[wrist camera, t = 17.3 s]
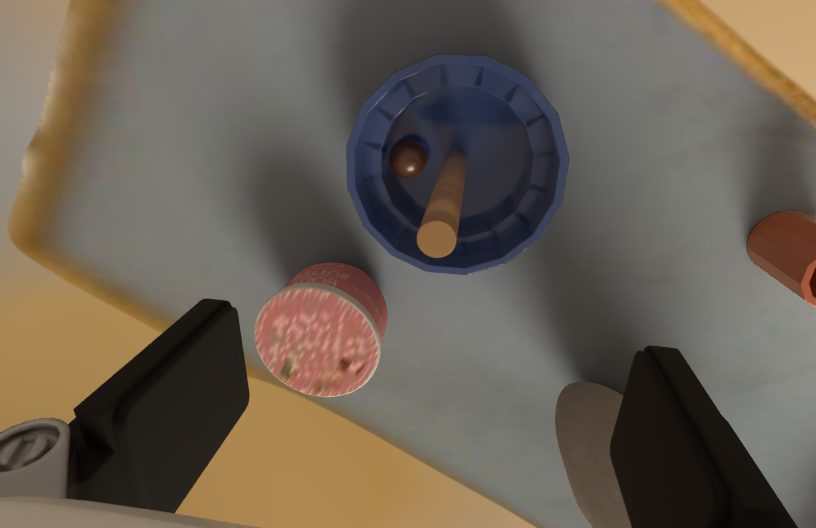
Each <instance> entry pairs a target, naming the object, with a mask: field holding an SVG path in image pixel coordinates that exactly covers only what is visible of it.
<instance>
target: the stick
mask: <svg viewBox="0 0 816 528" xmlns="http://www.w3.org/2000/svg"><path fill="white" fill-rule="evenodd" d="M466 166H467V158H466V156H465V155H464V153H462V152H461V151H457V150H455V151H451V152H449V153H448V154H447V155H446V157H445V160H444V162H443V165H442V168H441V171H440V173H439V176H438V179H437V181H436V184H435V187H434V190H433V192H432V195H431V198H430V200H429V203H428V206H427V208H426V211H425V214H424V217H423V219H422V222H421V225H420V227H419V230H418V233H417V244H418V246H419V248H420V250H421V251H422V252H423V253H424V254H426V255H428V256H430V257H434V258H440V257H444V256H446V255H448V254H450V253H451V252H452V251H453V249H454V248H455V245H456V241H457V234H458V226H459V219H460V211H461V203H462V196H463V188H464V181H465V173H466Z"/></svg>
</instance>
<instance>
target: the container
mask: <svg viewBox="0 0 816 528" xmlns="http://www.w3.org/2000/svg"><path fill="white" fill-rule="evenodd" d="M386 324H387V307H386V303H385V300H384V297H383V295H382V293H381V291H380V289H379V287H378V286H377V284H376V283H375V281H374V280H373V279H372V278H371V277H370V276H369V275H368V274H366V273H365V272H363V271H362V270H361V269H359V268H357V267H354V266H352V265H349V264H345V263H340V262H327V263H319V264H315V265H312V266H309V267H307V268H305V269H304V270H302V271H300V272H299V273H298V274H297V275H296V276H295V277H294V278H293V279H292V280H291V281H290V282H289V283H288V284H287V285H286V286H285V287H284V288H283V289H281V290H279V291H278V292H276V293H274V294H273V295H272V296H271V297H270V298H269V299H268V300H267V301H266V302H265V303H264V305H263V306H262V308H261V309H260V311H259V313H258V315H257V318H256V321H255V328H254V337H255V344H256V347H257V350H258V353H259V355H260V357H261V359H262V360H263V362H264V364H265V365H266V366H267V368H268V369H269V370H270V371H271V372H272V374H274V375H275V376H276V377H277V378H278V379H279V380H280V381H282V382H283V383H285V384H286V385H288V386H290V387H291V388H293V389H295V390H298V391H300V392H302V393H306V394H309V395H313V396H321V397H336V396H341V395H345V394H349V393H351V392H353V391H355V390H357V389H359V388H360V387H361V386H363V385H364V384H366V383H367V381H368V380H369V379H370V378H371V377H372V375H373V374H374V372H375V370H376V368H377V365H378V363H379V359H380V354H381V343H382V339H383V336H384V332H385V328H386Z"/></svg>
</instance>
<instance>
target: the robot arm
mask: <svg viewBox="0 0 816 528" xmlns="http://www.w3.org/2000/svg"><path fill="white" fill-rule="evenodd" d="M248 402H249V387H248V381H247V373H246V366H245V360H244V353H243V346H242V339H241V332H240V325H239V318H238V312H237V310H236V308H234V307H232V306H231V304H230V302H228V301H225V300H215V299H203V300H201V301H200V302H199V303H197V304H196V305H195V306H194V307H193V308H192V309H190V310H189V311H188V312H187V313H186V314H185V315H183V316H182V317H181V318H180V319H179V320H177V321H176V322H175V323H174V324H173V325H172V326H170V327H169V328H168V329H167V330H166V331H165V332H163V333H162V334H161V335H160V336H159V337H158V338H156V339H155V340H154V341H153V342H152V343H151V344H149V345H148V346H147V347H146V348H145V349H144V350H142V351H141V352H140V353H139V354H138V355H136V356H135V357H134V358H133V359H132V360H131V361H129V362H128V363H127V364H126V365H125V366H124V367H122V368H121V369H120V370H119V371H118V372H117V373H115V374H114V375H113V376H112V377H111V378H110V379H108V380H107V381H106V382H105V383H104V384H102V385H101V386H100V387H99V388H98V389H97V390H96V391H94V392H93V393H92V394H91V395H90V396H88V397H87V398H86V399H85V400H84V401H82V402H81V403H80V404H79V405H78V406H77V407H75V408H74V412H75V415H76V418H75V419H74V420H73V421H71V422H70V423H69V424H67V423H66V422H64V421H63V420H60V419H56V418H39V419H35V420H30V421H26V422H23V423H20V424H17V425H15V426H12V427H10V428H8V429H6V430H4V431H2V432H0V528H258V527H252V526H245V525H240V524H233V523H228V522H222V521H216V520H210V519H204V518H198V517H192V516H186V515H180V514H174V513H175V512H176V510H177V509H178V507H179V506H180V505H181V503H182V502H183V500H184V499H185V497H186V496H187V494H188V493H189V491H190V490H191V488H192V487H193V485H194V484H195V483H196V481H197V479H198V478H199V477H200V475H201V474H202V472H203V471H204V469H205V468H206V467H207V465H208V464H209V462H210V461H211V459H212V458H213V456H214V455H215V453H216V452H217V450H218V449H219V448H220V446H221V445H222V443H223V442H224V440H225V439H226V437H227V436H228V434H229V433H230V431H231V430H232V429H233V427H234V425H235V424H236V423H237V421H238V420H239V418H240V417H241V415H242V414H243V412H244V411H245V409H246V407H247V405H248ZM610 458H611V462H612V465H613V468H614V471H615V475H616V478H617V481H618V484H619V488H620V491H621V494H622V497H623V501H624V504H625V507H626V510H627V514H628V517H629V520H630V523H631V526H632V528H798V527H797V526H796V524H795V523H794V521H793V519H792V518H791V516H790V515H789V513H788V512H787V510H786V509H785V507H784V506H783V504H782V503H781V501H780V500H779V498H778V497H777V495H776V494H775V492H774V491H773V489H772V488H771V486H770V485H769V483H768V482H767V480H766V479H765V477H764V476H763V474H762V473H761V471H760V470H759V468H758V467H757V465H756V464H755V462H754V460H753V459H752V457H751V456H750V454H749V453H748V451H747V450H746V448H745V447H744V445H743V444H742V442H741V441H740V439H739V438H738V436H737V435H736V433H735V432H734V430H733V429H732V427H731V426H730V424H729V423H728V422H727V420H726V419H725V418H724V417H722V415H721V414H720V412H719V411H718V409H717V408H716V406H715V404H714V403H713V401H712V400H711V398H710V397H709V395H708V394H707V392H706V391H705V389H704V388H703V386H702V385H701V383H700V382H699V380H698V379H697V377H696V375H695V374H694V372H693V371H692V369H691V368H690V366H689V365H688V363H687V362H686V360H685V359H684V357H683V356H682V354H681V353H680V351H679V350H678V349H676V348H668V347H659V346H647V347H646V348H645V349H644V351H638V352H636V354H635V356H634V360H633V363H632V367H631V370H630V374H629V377H628V381H627V385H626V388H625V392H624V395H623V399H622V402H621V406H620V409H619V413H618V417H617V420H616V424H615V427H614V431H613V434H612V438H611V442H610Z"/></svg>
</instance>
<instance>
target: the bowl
mask: <svg viewBox="0 0 816 528" xmlns="http://www.w3.org/2000/svg"><path fill="white" fill-rule="evenodd" d="M403 139H413V140H416V141H418V142H419V143H421V144H422V145H423V147H424V148H425V150H426V153H427V164H426V167H425V169H424V170H423V171H422V173H420V174H419V175H418V176H416V177H413V178H403V177H400V176H399V175H397V174H396V173H395V172H394V171H393V170H392V168H391V166H390V164H389V153H390V150H391V148H392V147H393V146H394V144H396V143H397V142H398V141H400V140H403ZM346 148H347V188H348V191H349V193H350V196H351V198H352V201H353V203H354V205H355V208H356V210H357V212H358V215H359V217H360V219H361V222H362V224H363V226H364V227H365V228H366V229H367V230H368V231H369V232H370V234H371V235H372V236H373V237H374V238H375V239H376V240H377V241H378V242H379V243H380V244H381V245H382V246H383V247H384V248H385V249H386V250H387V251H388V252H389V253H390V254H391V255H392V256H395V257H397V258H399V259H401V260H403V261H405V262H407V263H409V264H411V265H414V266H416V267H418V268H420V269H422V270H424V271H427V272H436V273H448V274H459V275H468V274H472V273H476V272H479V271H483V270H486V269H490V268H494V267H497V266H501V265H504V264H506V263H508V262H509V261H511V260H512V259H513V258H515V257H516V256H517V255H519V254H520V253H521V252H523V251H524V250H525V249H527V248H528V247H530V246H531V245H532V244H534V243H535V242H536V241H538V240H539V239H540V237H541V235H542V234H543V232H544V231H545V229H546V227H547V226H548V224H549V223H550V221H551V220H552V218H553V216H554V215H555V213H556V212H557V210H558V208H559V207H560V205H561V203H562V200H563V194H564V188H565V182H566V176H567V170H568V164H569V155H568V151H567V147H566V143H565V139H564V135H563V131H562V127H561V123H560V119H559V115H558V113H557V112H556V111H555V109H554V108H553V107H552V106H551V104H550V103H549V102H548V101H547V99H546V98H545V97H544V95H543V94H542V93H541V92H540V90H539V89H538V88H537V87H536V85H535V84H534V83H533V82H532V80H531V79H530V78H529V77H528V76H526V75H524V74H522V73H520V72H518V71H516V70H514V69H512V68H510V67H508V66H506V65H504V64H502V63H500V62H498V61H496V60H494V59H492V58H490V57H488V56H485V55H453V54H436V55H434V56H432V57H429V58H427V59H424V60H422V61H420V62H417V63H415V64H413V65H410V66H408V67H405V68H403V69H401V70H398V71H396V72H394V73H393V74H392V75H391V76H390V77H389V78H388V79H387V80H386V81H385V82H384V83H383V84H382V85H381V86H380V87H379V88H378V89H377V90H376V91H375V92H374V94H373V95H372V96H371V97H370V98H369V99H368V100H367V101H366V102H365V103H364V104H363V105H362V107H361V110H360V112H359V115H358V118H357V120H356V123H355V126H354V128H353V131H352V133H351V136H350V139H349V141H348V144H347V147H346ZM455 150H457V151H461V152H462V153H464V155H465V156H466V158H467V166H466V173H465V181H464V188H463V196H462V203H461V211H460V219H459V226H458V234H457V241H456V245H455V248H454V249H453V251H452V252H451V253H450V254H448V255H446V256H444V257H440V258H434V257H430V256H428V255H426V254H424V253H423V252H422V251H421V250H420V248H419V246H418V244H417V233H418V230H419V227H420V225H421V222H422V219H423V217H424V214H425V211H426V208H427V206H428V203H429V200H430V198H431V195H432V192H433V190H434V187H435V184H436V181H437V179H438V176H439V173H440V171H441V168H442V165H443V162H444V160H445V157H446V155H447V154H448V153H449V152H451V151H455Z"/></svg>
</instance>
